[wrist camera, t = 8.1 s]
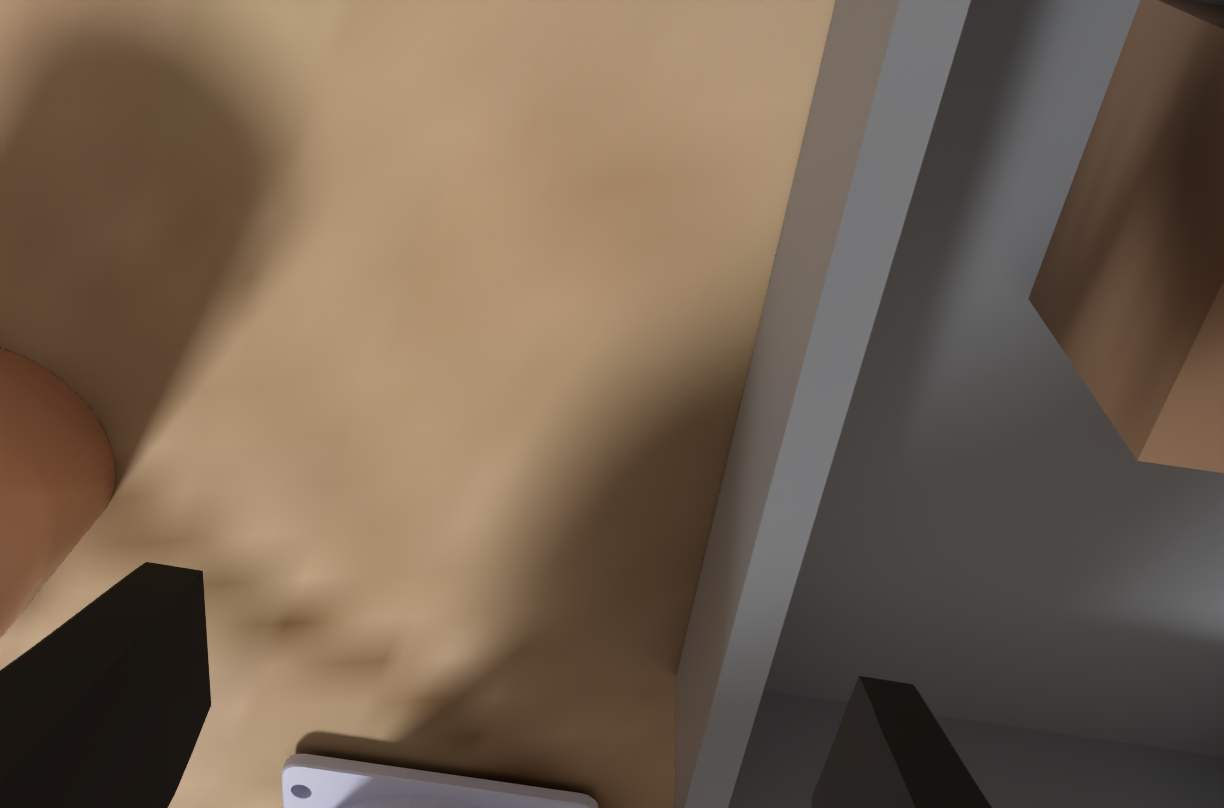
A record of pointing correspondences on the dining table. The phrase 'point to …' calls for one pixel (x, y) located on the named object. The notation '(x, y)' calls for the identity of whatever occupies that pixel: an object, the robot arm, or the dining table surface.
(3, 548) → the terracotta cylinder
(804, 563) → the tote
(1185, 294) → the walnut cube
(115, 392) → the dining table surface
